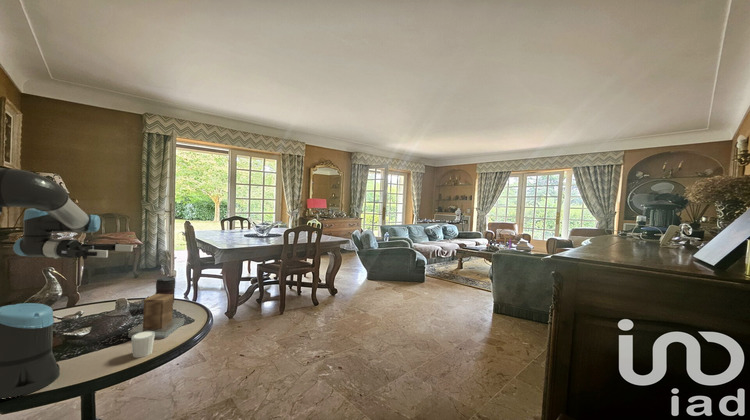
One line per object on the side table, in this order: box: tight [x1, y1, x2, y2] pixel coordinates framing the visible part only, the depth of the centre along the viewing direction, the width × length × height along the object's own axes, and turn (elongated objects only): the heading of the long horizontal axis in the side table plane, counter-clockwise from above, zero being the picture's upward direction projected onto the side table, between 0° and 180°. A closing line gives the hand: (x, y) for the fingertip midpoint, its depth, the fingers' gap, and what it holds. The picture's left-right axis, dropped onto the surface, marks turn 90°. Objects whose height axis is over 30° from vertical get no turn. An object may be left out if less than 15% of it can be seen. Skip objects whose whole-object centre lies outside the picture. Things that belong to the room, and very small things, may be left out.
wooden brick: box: [142, 293, 174, 328], centre depth 126 cm, size 7×7×12 cm
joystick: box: [127, 317, 185, 339], centre depth 126 cm, size 14×14×10 cm
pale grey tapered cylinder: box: [131, 331, 155, 359], centre depth 108 cm, size 7×7×7 cm
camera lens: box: [155, 276, 176, 304], centre depth 151 cm, size 8×8×15 cm
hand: (120, 251), depth 122 cm, fingers open, 13 cm apart
